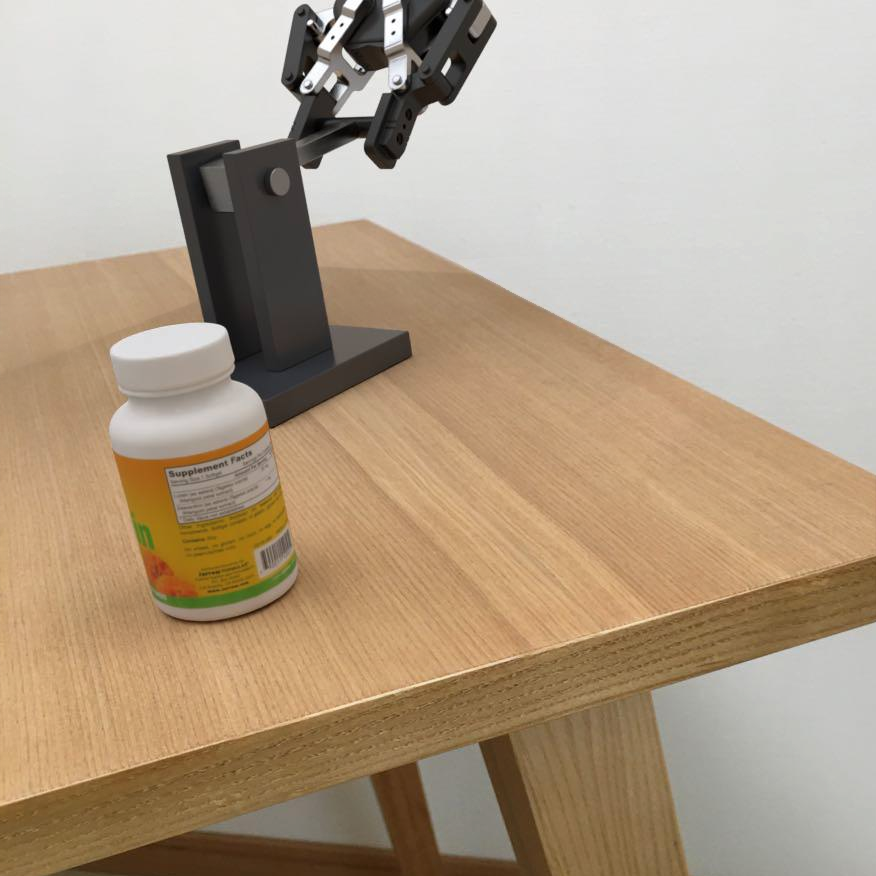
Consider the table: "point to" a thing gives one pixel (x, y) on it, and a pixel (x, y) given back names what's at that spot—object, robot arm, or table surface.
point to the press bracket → (271, 280)
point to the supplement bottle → (199, 475)
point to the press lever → (316, 145)
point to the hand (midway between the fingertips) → (339, 160)
